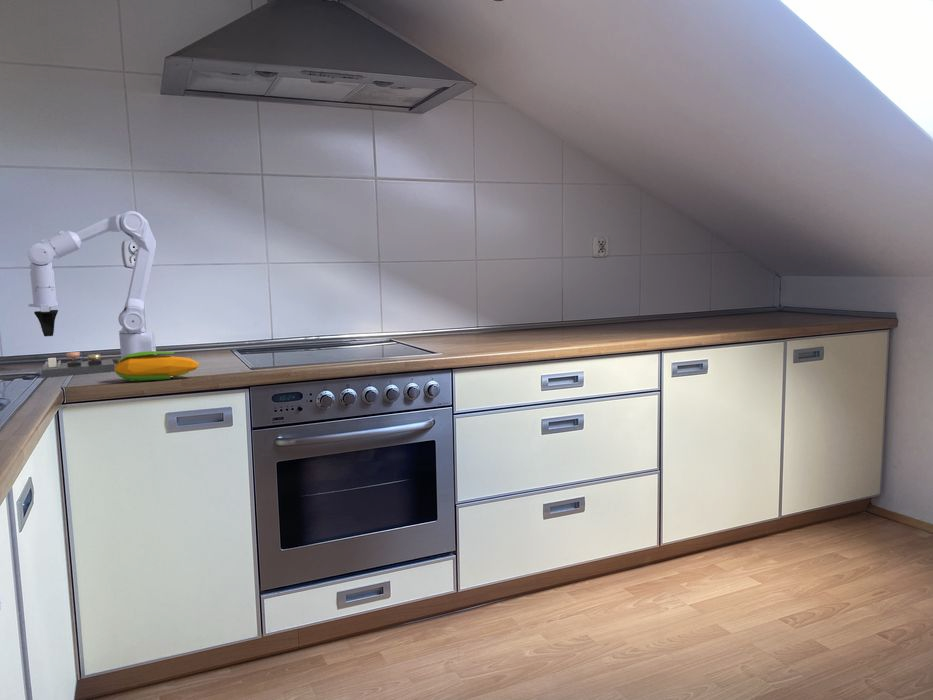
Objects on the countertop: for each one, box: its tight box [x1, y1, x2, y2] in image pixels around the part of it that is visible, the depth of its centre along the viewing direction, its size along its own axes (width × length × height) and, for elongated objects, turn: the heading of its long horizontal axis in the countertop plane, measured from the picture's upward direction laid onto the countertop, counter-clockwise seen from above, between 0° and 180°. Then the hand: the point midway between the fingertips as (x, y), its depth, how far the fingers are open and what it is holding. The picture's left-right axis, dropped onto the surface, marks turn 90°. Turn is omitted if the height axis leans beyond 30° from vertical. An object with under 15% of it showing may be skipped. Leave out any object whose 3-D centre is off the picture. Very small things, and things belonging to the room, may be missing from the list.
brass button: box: [87, 353, 102, 361], centre depth 192 cm, size 3×3×2 cm
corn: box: [114, 350, 200, 382], centre depth 176 cm, size 7×8×20 cm
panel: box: [41, 358, 115, 379], centre depth 190 cm, size 17×11×3 cm, turn 119°
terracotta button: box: [65, 351, 81, 361], centre depth 189 cm, size 3×3×2 cm
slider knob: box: [47, 357, 58, 367], centre depth 185 cm, size 2×2×2 cm
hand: (48, 336), depth 195 cm, fingers closed
